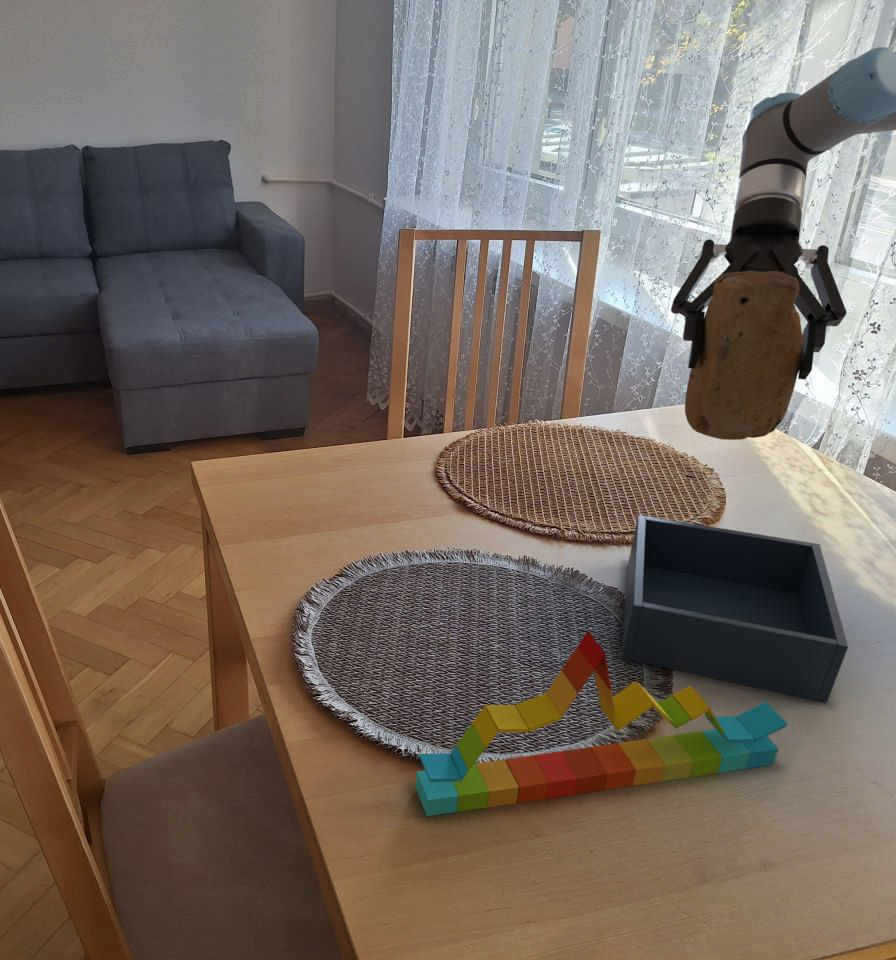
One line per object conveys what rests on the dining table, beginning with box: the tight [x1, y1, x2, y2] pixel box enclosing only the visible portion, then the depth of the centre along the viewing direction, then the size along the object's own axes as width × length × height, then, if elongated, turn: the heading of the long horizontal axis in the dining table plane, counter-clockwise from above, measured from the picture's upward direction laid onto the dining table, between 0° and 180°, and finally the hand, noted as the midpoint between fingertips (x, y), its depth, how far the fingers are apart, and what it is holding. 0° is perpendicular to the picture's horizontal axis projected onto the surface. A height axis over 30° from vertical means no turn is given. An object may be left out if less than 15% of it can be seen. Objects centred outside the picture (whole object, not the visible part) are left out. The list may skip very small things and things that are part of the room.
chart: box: [415, 630, 788, 817], centre depth 69 cm, size 30×3×15 cm, turn 98°
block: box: [684, 271, 805, 441], centre depth 105 cm, size 11×8×20 cm
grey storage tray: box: [621, 514, 849, 703], centre depth 87 cm, size 18×18×7 cm
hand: (747, 369), depth 103 cm, fingers closed on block, 11 cm apart
